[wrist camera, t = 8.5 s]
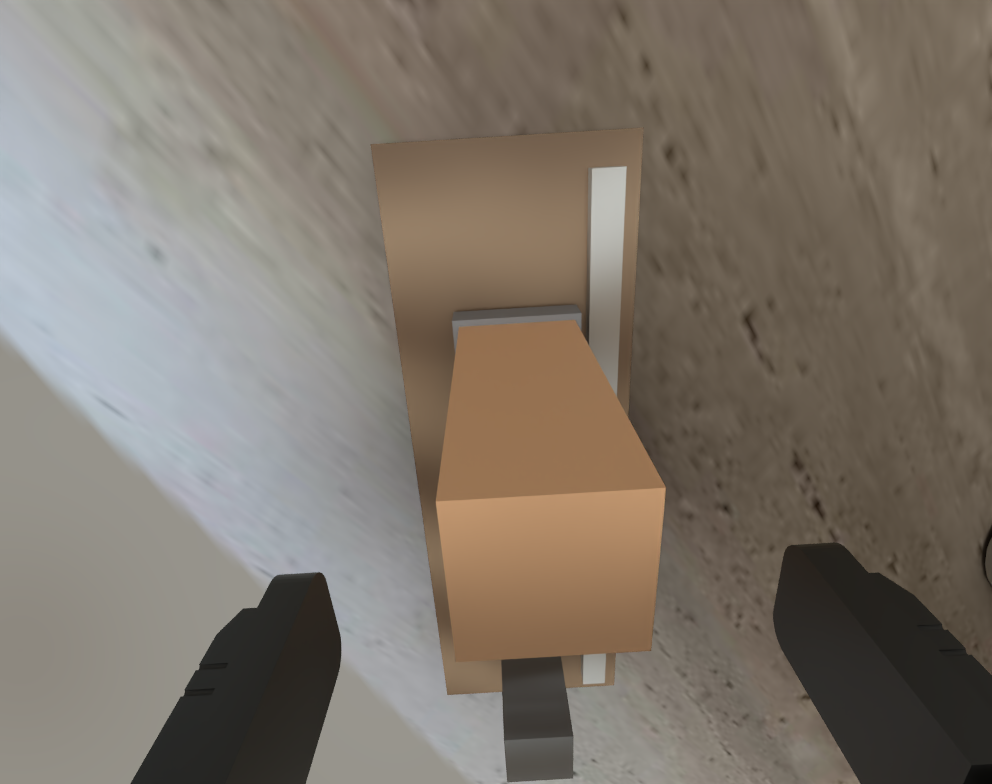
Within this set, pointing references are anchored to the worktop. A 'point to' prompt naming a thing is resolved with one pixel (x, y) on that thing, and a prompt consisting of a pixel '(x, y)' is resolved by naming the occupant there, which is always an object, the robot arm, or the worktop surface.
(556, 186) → the wooden slider board
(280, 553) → the worktop surface
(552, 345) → the block
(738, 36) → the worktop surface
